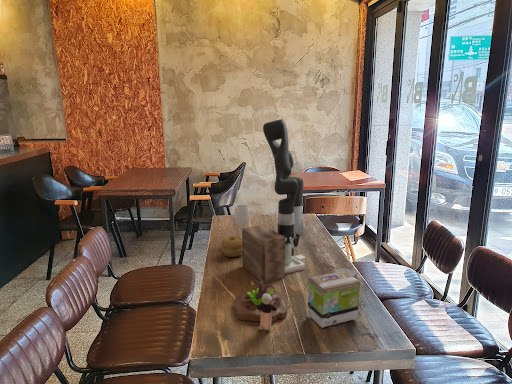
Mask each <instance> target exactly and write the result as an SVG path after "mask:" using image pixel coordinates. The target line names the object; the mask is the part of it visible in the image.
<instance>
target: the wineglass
mask: <svg viewBox="0 0 512 384" xmlns="http://www.w3.org/2000/svg"><path fill="white" fill-rule="evenodd" d="M233 214H234V215H233V216H234V217H233V218H234V222H235V223H236V225H238V226H239V227H240V231H241V233H240V234H241V235H240V237H241V238H242V228H245V226H246V225H247V224H248V223H249V222H250V218H251V217H250V216H251V215H250V214H251V213H250V209H249V206H248V205H247V204H236V206H235V208H234V213H233Z"/></svg>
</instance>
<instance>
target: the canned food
mask: <svg viewBox="0 0 512 384" xmlns="http://www.w3.org/2000/svg"><path fill="white" fill-rule="evenodd" d="M339 271H345V272H347V273H348V274H350V275H351V276H353V277H354V278H356V271H355V270H354V269H351V268H349V267H348V268H345V267H342V268H341V267H340V268H337V269H335V272H339ZM356 279H357V278H356Z"/></svg>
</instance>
